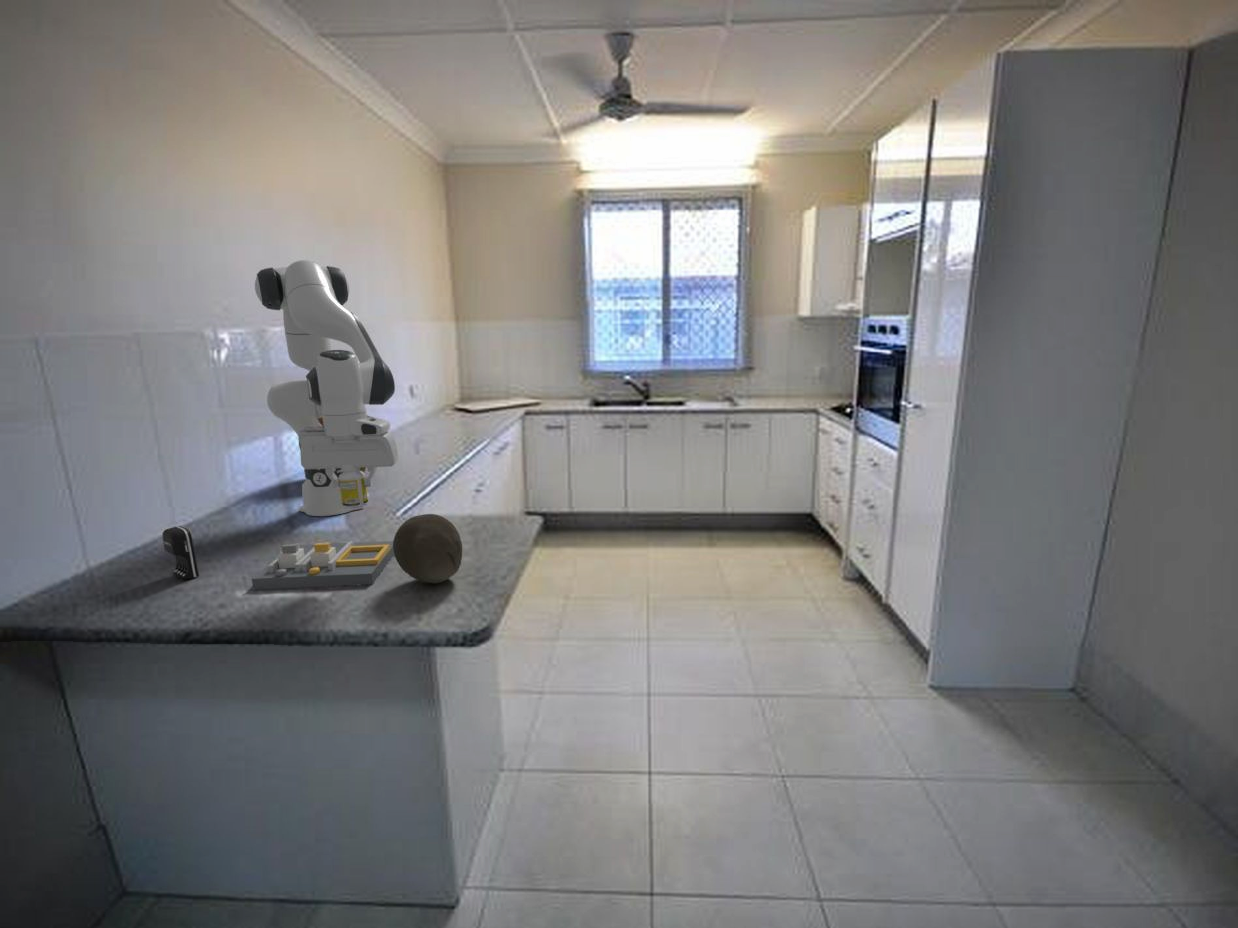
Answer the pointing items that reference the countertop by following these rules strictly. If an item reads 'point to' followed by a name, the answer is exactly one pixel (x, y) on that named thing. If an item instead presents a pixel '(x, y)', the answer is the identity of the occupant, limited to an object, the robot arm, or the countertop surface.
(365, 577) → the breaker panel
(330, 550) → the breaker
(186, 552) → the black electronic device
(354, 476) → the supplement bottle
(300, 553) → the breaker
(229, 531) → the countertop surface
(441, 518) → the dark brown ball
